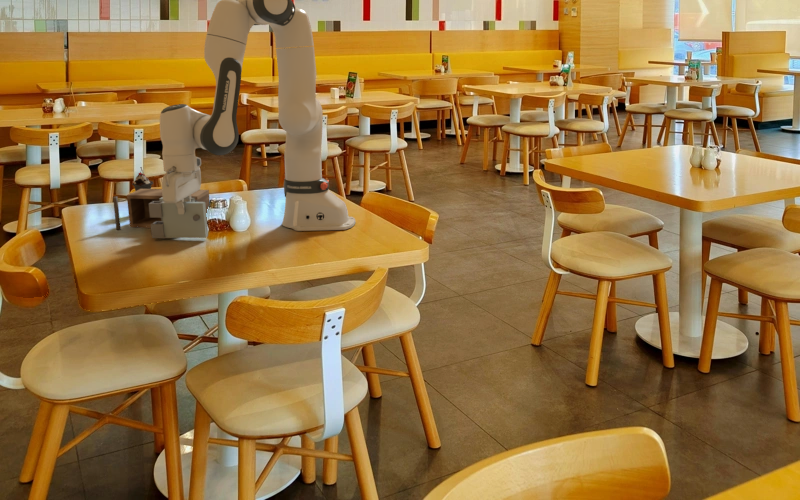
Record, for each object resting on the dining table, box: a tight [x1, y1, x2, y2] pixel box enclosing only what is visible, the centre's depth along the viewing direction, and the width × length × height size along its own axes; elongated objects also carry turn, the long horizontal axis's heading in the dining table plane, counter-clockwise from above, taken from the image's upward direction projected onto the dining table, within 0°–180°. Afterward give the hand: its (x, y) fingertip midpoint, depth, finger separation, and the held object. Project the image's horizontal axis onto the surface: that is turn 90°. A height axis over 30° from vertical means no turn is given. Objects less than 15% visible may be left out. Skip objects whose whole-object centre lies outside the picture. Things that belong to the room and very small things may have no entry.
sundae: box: [131, 166, 154, 192], centre depth 255 cm, size 7×7×15 cm
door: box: [149, 201, 209, 239], centre depth 222 cm, size 16×4×10 cm, turn 84°
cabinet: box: [112, 188, 211, 231], centre depth 238 cm, size 25×15×10 cm, turn 84°
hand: (184, 212), depth 221 cm, fingers closed on door, 2 cm apart
